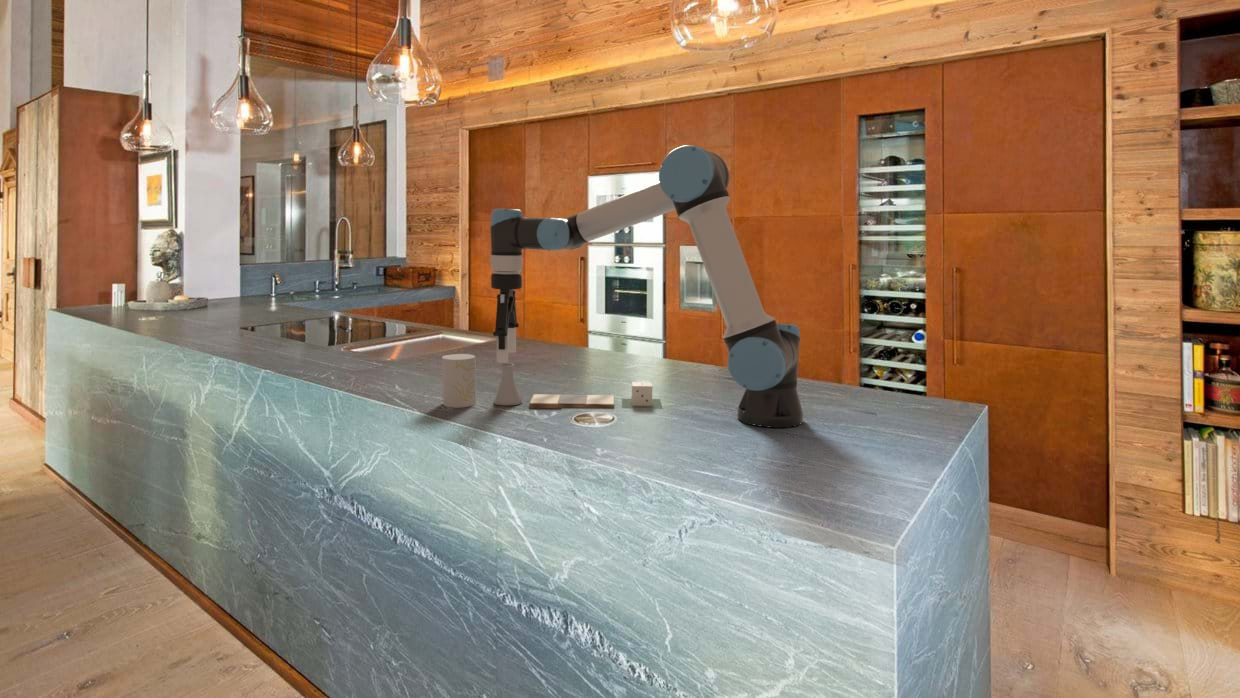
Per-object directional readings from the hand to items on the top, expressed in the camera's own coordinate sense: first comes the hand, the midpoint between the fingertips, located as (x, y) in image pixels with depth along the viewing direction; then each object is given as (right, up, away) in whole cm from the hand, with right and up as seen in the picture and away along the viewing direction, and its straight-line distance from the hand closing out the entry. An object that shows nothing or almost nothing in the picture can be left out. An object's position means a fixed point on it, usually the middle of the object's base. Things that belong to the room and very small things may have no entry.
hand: (506, 357), depth 175 cm
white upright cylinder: (-12, -12, +1) cm, 17 cm away
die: (+34, -12, +2) cm, 36 cm away
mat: (+34, -12, +2) cm, 36 cm away
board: (+16, -12, +2) cm, 20 cm away
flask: (0, -12, +2) cm, 12 cm away
